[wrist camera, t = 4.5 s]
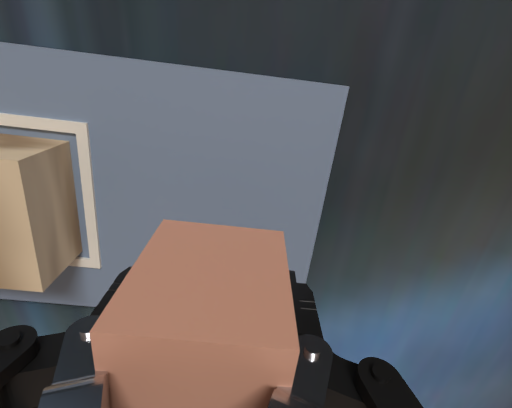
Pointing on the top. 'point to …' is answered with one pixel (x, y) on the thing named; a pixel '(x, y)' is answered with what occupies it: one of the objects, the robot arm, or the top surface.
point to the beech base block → (36, 212)
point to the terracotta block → (200, 321)
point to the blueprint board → (171, 153)
